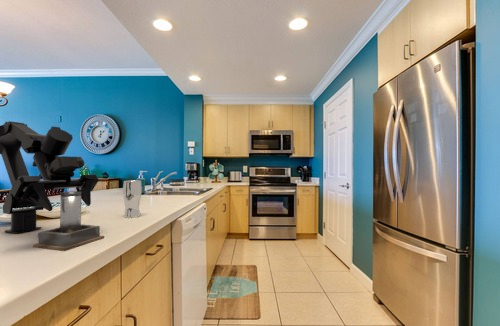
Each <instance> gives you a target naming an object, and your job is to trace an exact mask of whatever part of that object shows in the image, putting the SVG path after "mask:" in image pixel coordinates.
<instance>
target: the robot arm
mask: <svg viewBox="0 0 500 326" xmlns="http://www.w3.org/2000/svg"><path fill="white" fill-rule="evenodd" d="M72 140H73V135H72V134H71V133H69V132H67V131H66V130H64V129H61V127H60V126H59V127H58V126H53V125H52V126H51V127H50V129H48V131H47V133H46V134H42V133H41V134H40V133H38V132H37V131H35V130H34V129H32V128H30V127H29V126H28V124H27V123H26V124H25V123H24V122H17V121H10V120H9V121H5V122H4V123H3V124H1V125H0V155H1V158H2V160H3V161H2V162H3V163H4V166H5V169H6V172H7V176H8V178H9V182H10V184H11V188H10V190H9V192H8V194H7V195H6V196H7V197H6V199H5V201H4V203H3V204H2V213H3V214H5V215H6V214H7V215H10V229H7V230H6V229H5V230H4V233H8V234H9V233H11V234H23V233H27V232H31V231H36V230H41V229H42V227H41V226H37V219H38V217H37V211H44V210H47V211H48V212H52V211H53V209H54V208H53V205H52V202H51V201H50V198H49V196H48V194H47V193H46V191H45V190H61V189H73V188H75V189H76V191H80V192H81V201H83V203H84V204H85V205H86V207H87V206H88V207H90V205H91V204H92V202H91V201H92V198H91V194H92V193H91V192H93V190H94V189H95V187H96V186H97V184H98V182H99V181H100V179H99V177H98V176H97V175H96V174H81V175H80V178H79V179H77V180H76V179H74V180H73V179H72V178H74V176H75V171H76V170H78V169H79V170H81V169H82V168H83V167H85V161H84V159H83V157H81V156H65V154H66V152H67V150H68V149H69V146H70V144H71V143H72ZM21 148H22V150H23V151H24V152H25V153H26V154H27V155H29V154H30V155H31V154H33V155H32V156H33V157H32V159H33V162H32V167H34V168H35V167H36V168H37V170H38V172H39V175H30V174H29V171H28V168H27V165H26V163H25V160H24V157H23V154H22V152H21ZM63 155H64V156H63Z"/></svg>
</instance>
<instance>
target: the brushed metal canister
mask: <svg viewBox="0 0 500 326" xmlns="http://www.w3.org/2000/svg"><path fill="white" fill-rule="evenodd" d="M59 206H60V207H59V208H60V211H59V212H60V218H59V222H60V223H59V227H60V233H70V232H74V231H78V230H81V224H82V199H81V192H80V191H77V190H76V191H65V192H64V191H62V192H60V205H59Z"/></svg>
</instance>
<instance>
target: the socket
mask: <svg viewBox="0 0 500 326" xmlns="http://www.w3.org/2000/svg"><path fill="white" fill-rule="evenodd" d="M100 230H101V227H100V225H93V224H92V225H90V224H82V223H81V230H78V231H74V232H70V233H60V226H59V227H56V228H52V229H47V230H44V231H43V230H42V231H39V232H38V242H37V243H34V244H32V248H35V249H36V248H37V249H47V250H54V251H62V252H66V251H69V250H72V249H75V248H79V247H81V246H85V245H87V244H90V243H93V242H97V241H100V240H103V239H105V236H104V235H100Z"/></svg>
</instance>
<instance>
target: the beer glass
mask: <svg viewBox="0 0 500 326" xmlns="http://www.w3.org/2000/svg"><path fill="white" fill-rule="evenodd" d="M122 188H123V189H122V196H123V201H124V209H125V210H124V214H123V217H124V218H126V219H132V218H138V217H141V213H140V204H141V203H140V202H141V199H142V192H143V191H142V189H143V188H142V181H141V179H137V180H135V179H134V180H133V179H131V180H123V185H122Z"/></svg>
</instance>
